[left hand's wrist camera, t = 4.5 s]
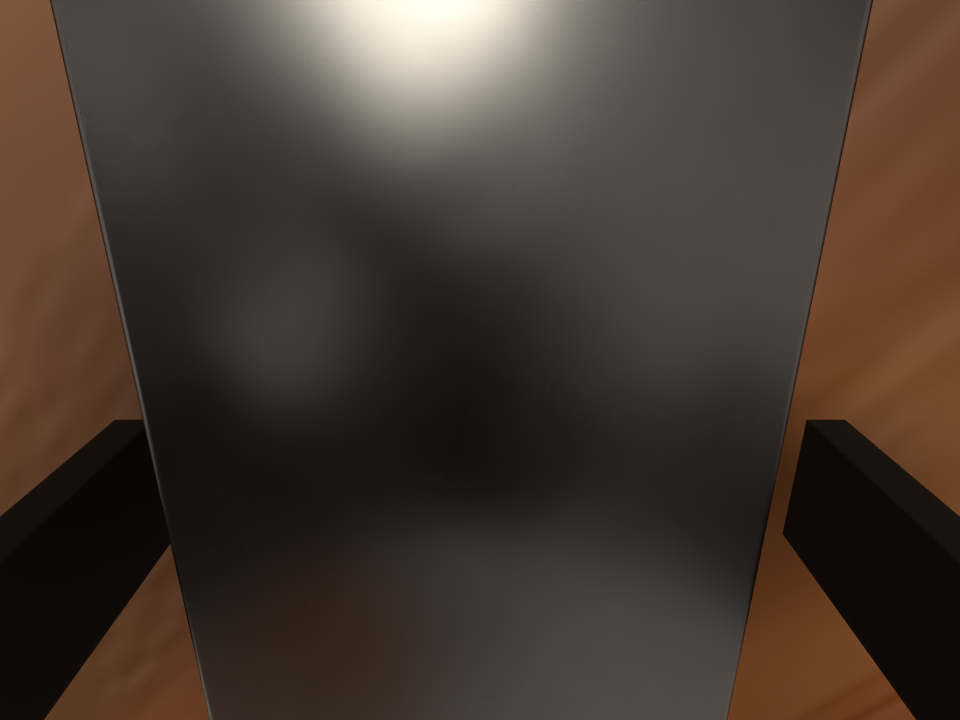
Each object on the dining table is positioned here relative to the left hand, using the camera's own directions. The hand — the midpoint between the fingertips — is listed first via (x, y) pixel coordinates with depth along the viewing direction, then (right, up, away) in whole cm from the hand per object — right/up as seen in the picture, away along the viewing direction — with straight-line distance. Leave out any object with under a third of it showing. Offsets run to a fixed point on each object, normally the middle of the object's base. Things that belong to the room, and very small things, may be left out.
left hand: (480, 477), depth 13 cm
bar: (0, +9, 0) cm, 9 cm away
